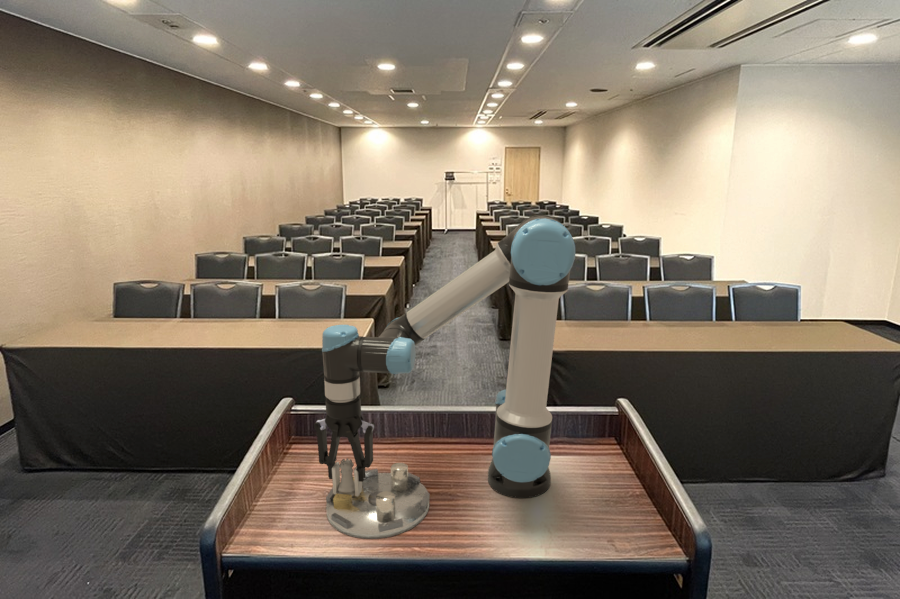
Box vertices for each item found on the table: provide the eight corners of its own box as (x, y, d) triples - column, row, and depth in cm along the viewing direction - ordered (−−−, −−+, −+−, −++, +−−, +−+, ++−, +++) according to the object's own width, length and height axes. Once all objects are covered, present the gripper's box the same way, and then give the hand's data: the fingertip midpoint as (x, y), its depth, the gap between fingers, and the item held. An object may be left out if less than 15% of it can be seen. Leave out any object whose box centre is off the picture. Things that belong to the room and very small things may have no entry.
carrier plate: (437, 482, 135) (437, 457, 133) (417, 543, 113) (416, 515, 111) (346, 474, 138) (345, 451, 137) (310, 533, 116) (307, 505, 115)
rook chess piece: (353, 499, 123) (351, 467, 122) (334, 497, 124) (332, 465, 122) (360, 488, 128) (359, 457, 126) (342, 486, 129) (340, 455, 127)
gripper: (386, 391, 123) (389, 486, 128) (311, 387, 125) (317, 479, 131) (376, 405, 116) (380, 505, 121) (297, 400, 118) (304, 498, 124)
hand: (347, 491), depth 126 cm, fingers closed on rook chess piece, 4 cm apart
